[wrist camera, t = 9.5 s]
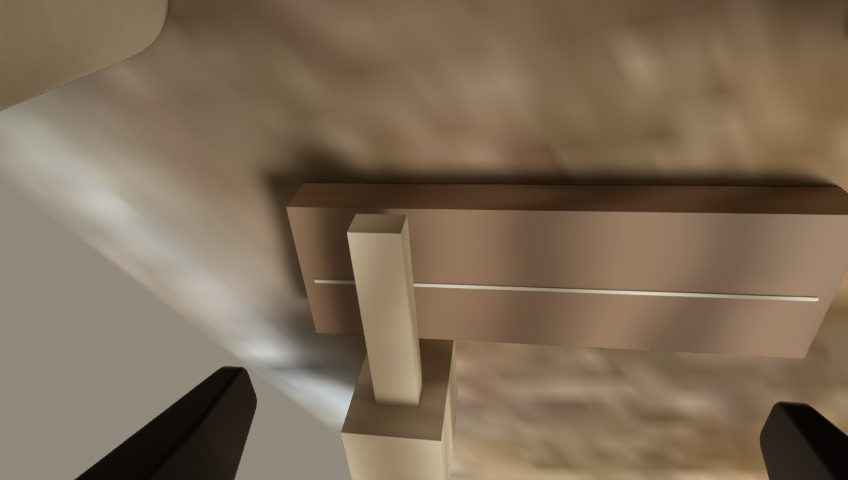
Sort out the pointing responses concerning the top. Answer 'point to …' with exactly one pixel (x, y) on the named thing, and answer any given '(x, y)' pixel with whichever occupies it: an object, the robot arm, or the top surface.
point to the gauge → (396, 366)
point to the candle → (69, 40)
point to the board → (592, 262)
